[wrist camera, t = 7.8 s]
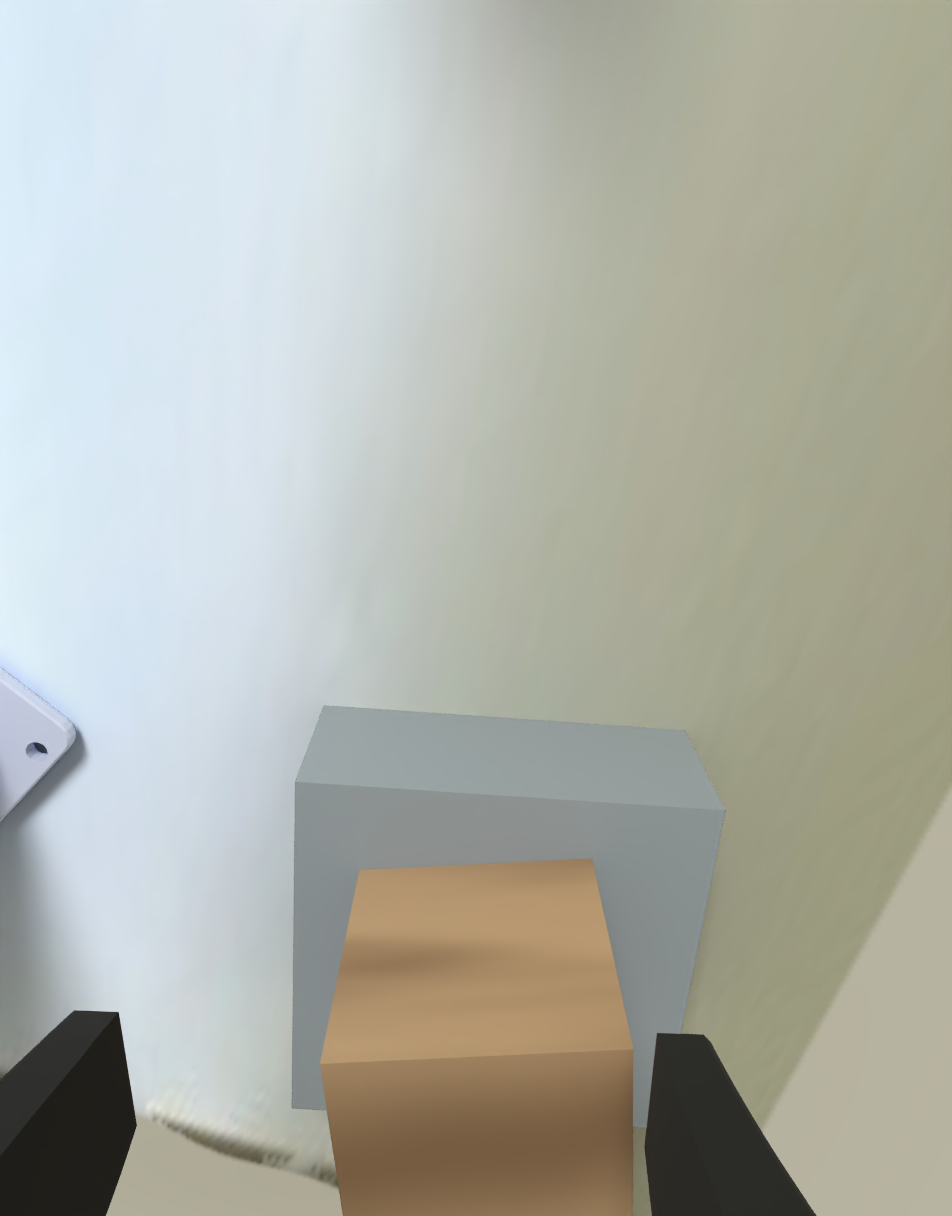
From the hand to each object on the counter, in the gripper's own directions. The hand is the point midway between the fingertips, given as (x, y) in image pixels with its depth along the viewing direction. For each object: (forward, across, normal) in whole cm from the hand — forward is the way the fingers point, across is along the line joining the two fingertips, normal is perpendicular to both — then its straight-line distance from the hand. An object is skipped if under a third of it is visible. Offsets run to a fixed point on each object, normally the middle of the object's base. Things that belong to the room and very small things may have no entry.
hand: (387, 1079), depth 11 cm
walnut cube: (+7, -1, +4) cm, 8 cm away
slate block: (+11, -1, +4) cm, 12 cm away
